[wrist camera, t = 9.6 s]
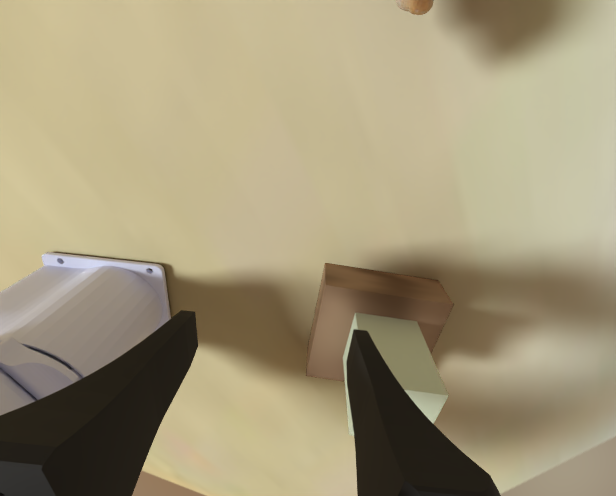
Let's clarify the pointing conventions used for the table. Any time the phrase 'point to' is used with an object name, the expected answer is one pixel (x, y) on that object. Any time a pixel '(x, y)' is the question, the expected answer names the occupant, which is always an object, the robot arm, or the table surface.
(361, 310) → the walnut block
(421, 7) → the lion figurine
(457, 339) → the table surface
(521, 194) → the table surface
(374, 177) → the table surface
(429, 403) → the sage block
